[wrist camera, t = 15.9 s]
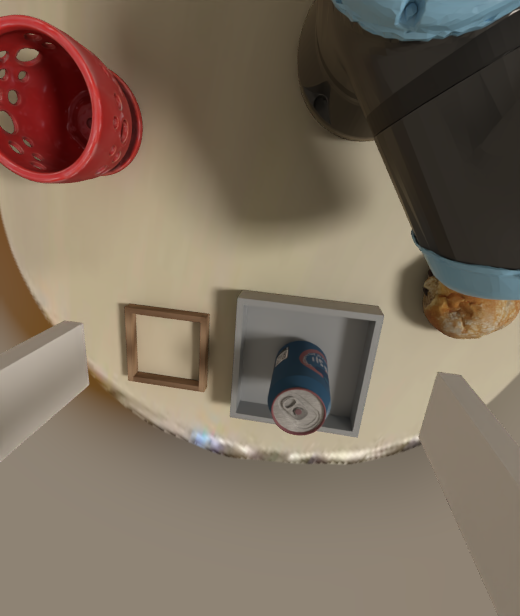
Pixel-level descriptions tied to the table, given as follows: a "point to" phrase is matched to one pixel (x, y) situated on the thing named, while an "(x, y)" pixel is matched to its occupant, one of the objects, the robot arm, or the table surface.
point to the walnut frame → (161, 379)
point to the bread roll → (465, 311)
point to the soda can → (299, 388)
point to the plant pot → (63, 107)
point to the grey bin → (313, 328)
